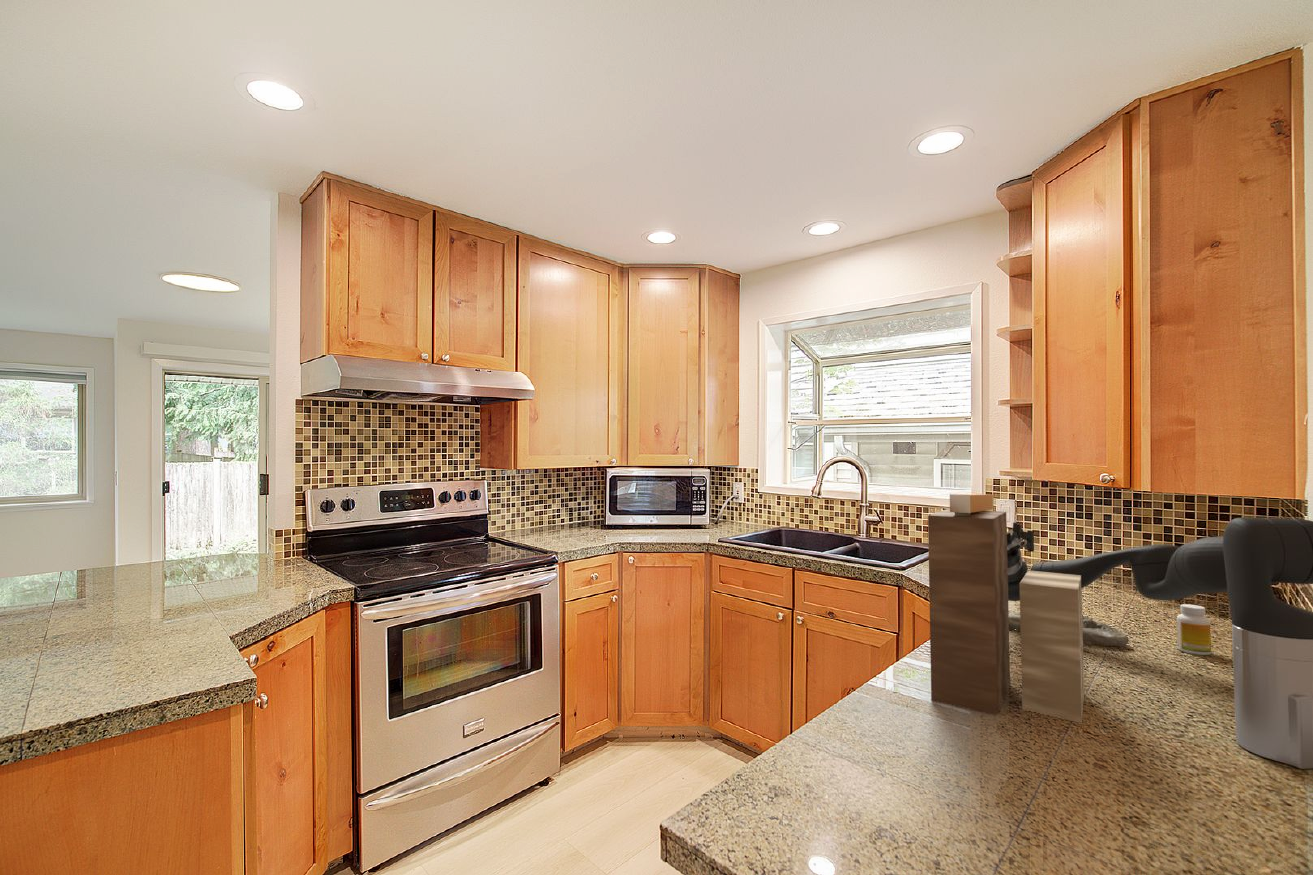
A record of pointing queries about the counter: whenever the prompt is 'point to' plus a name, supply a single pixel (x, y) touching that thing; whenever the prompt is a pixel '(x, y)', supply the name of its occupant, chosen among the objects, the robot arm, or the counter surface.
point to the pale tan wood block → (970, 502)
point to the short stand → (1052, 644)
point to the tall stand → (969, 609)
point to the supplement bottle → (1193, 630)
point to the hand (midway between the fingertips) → (992, 524)
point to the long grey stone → (1086, 631)
